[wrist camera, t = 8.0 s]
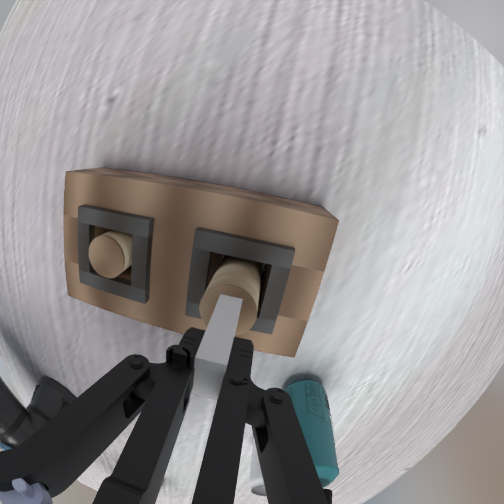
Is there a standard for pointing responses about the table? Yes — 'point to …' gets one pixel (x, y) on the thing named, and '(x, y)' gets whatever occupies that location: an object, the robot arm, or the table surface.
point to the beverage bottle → (316, 428)
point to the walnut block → (195, 250)
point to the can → (256, 474)
